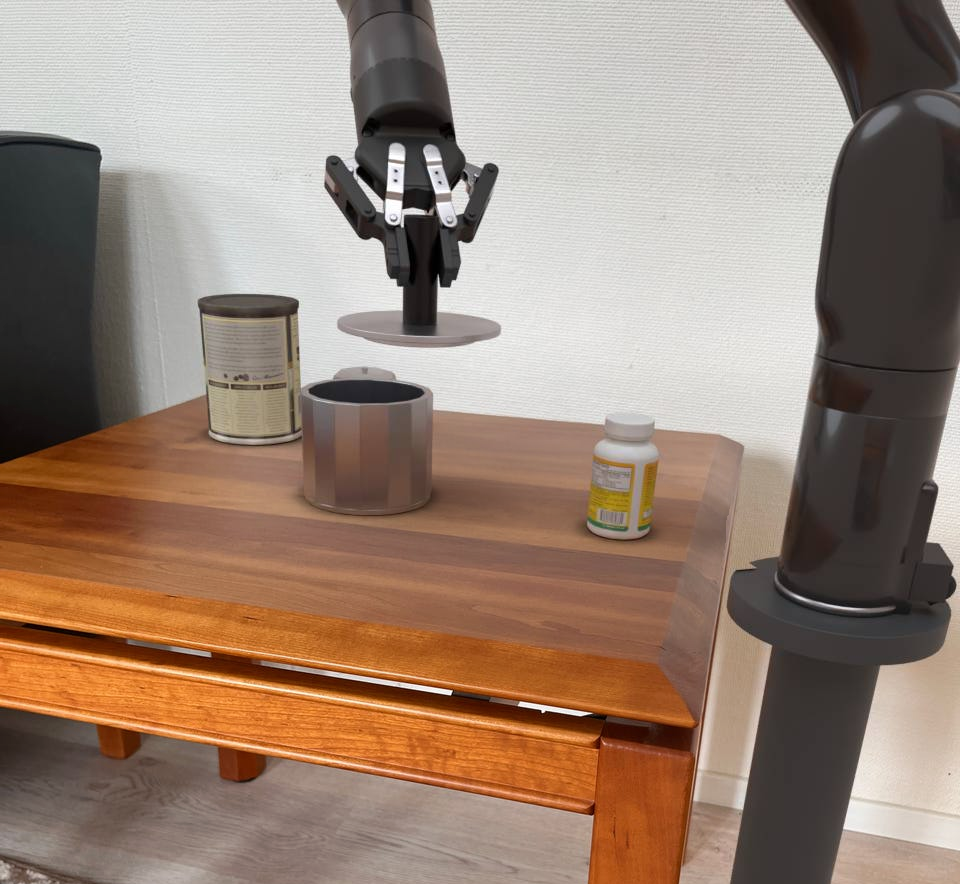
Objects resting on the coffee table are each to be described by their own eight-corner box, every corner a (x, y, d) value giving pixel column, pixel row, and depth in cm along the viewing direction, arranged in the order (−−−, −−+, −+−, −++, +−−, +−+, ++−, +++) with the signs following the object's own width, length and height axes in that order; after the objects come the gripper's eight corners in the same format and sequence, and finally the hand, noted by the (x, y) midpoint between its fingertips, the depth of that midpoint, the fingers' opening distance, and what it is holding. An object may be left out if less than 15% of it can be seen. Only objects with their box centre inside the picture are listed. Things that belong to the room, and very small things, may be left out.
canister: (442, 484, 97) (444, 383, 93) (413, 520, 87) (414, 409, 83) (327, 473, 99) (325, 374, 95) (285, 508, 89) (281, 398, 85)
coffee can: (195, 427, 113) (184, 294, 107) (283, 419, 118) (277, 292, 112) (225, 449, 105) (215, 307, 99) (318, 440, 110) (314, 304, 104)
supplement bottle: (601, 542, 84) (612, 426, 80) (577, 522, 88) (586, 411, 84) (660, 538, 85) (674, 424, 81) (633, 518, 90) (645, 409, 86)
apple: (406, 432, 115) (407, 373, 112) (337, 434, 113) (336, 374, 110) (390, 416, 122) (390, 359, 119) (324, 418, 120) (323, 361, 117)
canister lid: (512, 331, 82) (518, 216, 79) (484, 357, 71) (490, 225, 68) (364, 320, 84) (363, 207, 80) (314, 344, 73) (311, 214, 69)
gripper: (312, 47, 74) (332, 241, 69) (497, 60, 78) (530, 247, 72) (308, 129, 81) (326, 311, 76) (478, 138, 84) (507, 313, 79)
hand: (426, 279), depth 74 cm, fingers closed on canister lid, 2 cm apart
